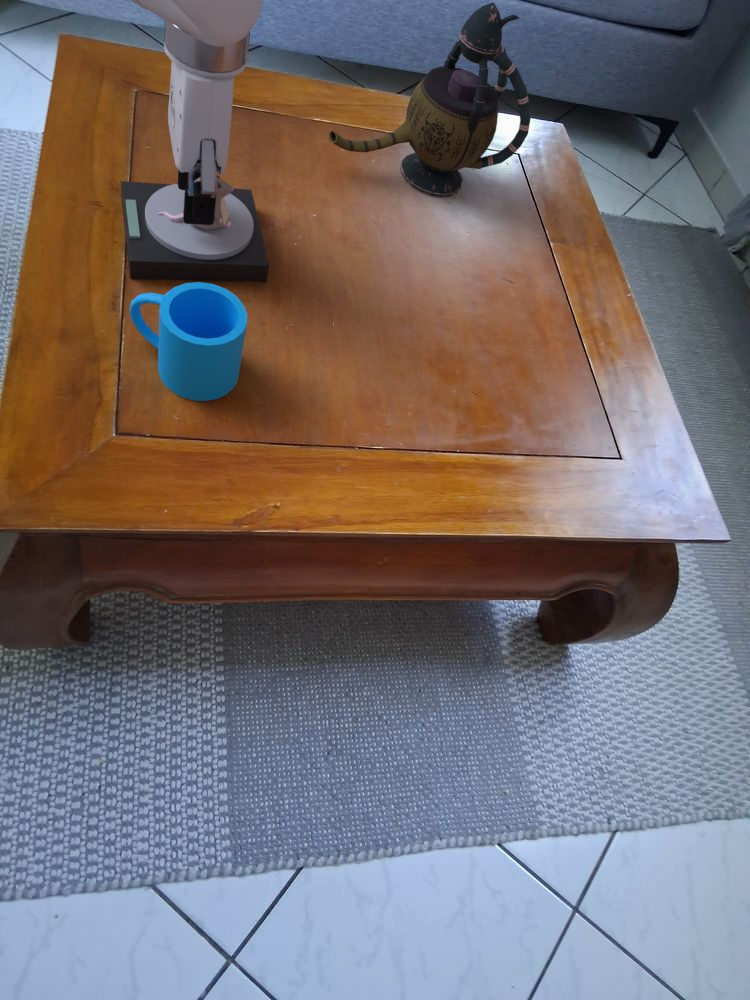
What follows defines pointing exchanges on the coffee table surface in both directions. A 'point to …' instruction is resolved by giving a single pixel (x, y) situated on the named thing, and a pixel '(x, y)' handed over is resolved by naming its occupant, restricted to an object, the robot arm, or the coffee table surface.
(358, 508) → the coffee table surface
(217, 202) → the mouse figurine
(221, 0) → the robot arm
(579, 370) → the coffee table surface
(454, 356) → the coffee table surface
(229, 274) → the kitchen scale
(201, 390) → the mug
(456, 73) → the teapot
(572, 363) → the coffee table surface
